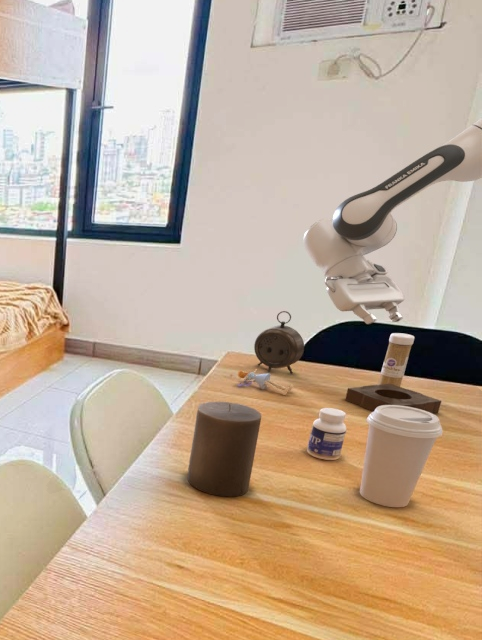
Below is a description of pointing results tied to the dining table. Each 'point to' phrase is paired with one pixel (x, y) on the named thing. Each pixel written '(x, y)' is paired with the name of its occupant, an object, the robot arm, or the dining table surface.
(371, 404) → the holder base
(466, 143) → the robot arm
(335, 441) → the pill bottle
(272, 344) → the alarm clock
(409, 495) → the coffee cup
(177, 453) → the dining table surface
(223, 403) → the pillar candle
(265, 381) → the fairy figurine
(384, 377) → the sprinkles bottle
